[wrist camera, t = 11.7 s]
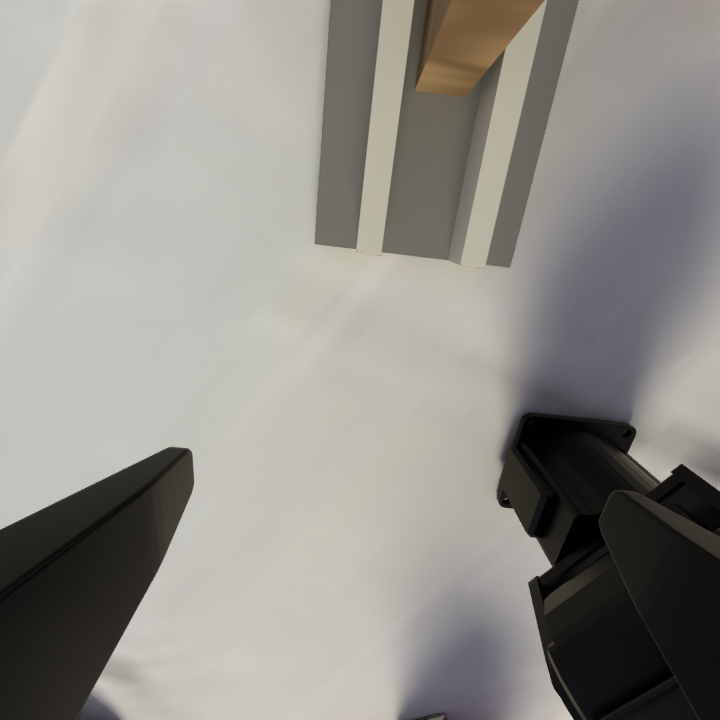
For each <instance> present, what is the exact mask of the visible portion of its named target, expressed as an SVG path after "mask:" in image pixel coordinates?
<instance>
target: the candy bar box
mask: <svg viewBox="0 0 720 720" xmlns="http://www.w3.org/2000/svg"><path fill="white" fill-rule="evenodd" d="M418 720H447V718H446V717H445V715H444V714H439V715H433V716H429V717H426V718H422V719H418Z"/></svg>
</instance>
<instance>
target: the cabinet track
mask: <svg viewBox="0 0 720 720" xmlns="http://www.w3.org/2000/svg"><path fill="white" fill-rule="evenodd" d="M427 1H428V0H331V8H330V23H329V38H328V53H327V68H326V83H325V98H324V113H323V128H322V143H321V158H320V172H319V187H318V202H317V217H316V232H315V244H319V245H327V246H335V247H344V248H352V249H356V253H362V254H370V255H378V256H381V252H385V253H394V254H402V255H410V256H418V257H427V258H435V259H443V260H449V261H451V262H454V263H456V264H458V265H462V266H470V267H478V268H485V265H493V266H502V267H510V265H511V261H512V257H513V253H514V250H515V246H516V242H517V238H518V234H519V230H520V226H521V222H522V218H523V215H524V211H525V207H526V203H527V199H528V195H529V191H530V187H531V183H532V180H533V176H534V172H535V168H536V164H537V160H538V156H539V152H540V148H541V145H542V141H543V137H544V133H545V129H546V125H547V121H548V117H549V113H550V110H551V106H552V102H553V98H554V94H555V90H556V86H557V82H558V78H559V75H560V71H561V67H562V63H563V59H564V55H565V51H566V47H567V43H568V40H569V36H570V32H571V28H572V24H573V20H574V16H575V12H576V8H577V5H578V1H579V0H545V1H544V2H543V3H542V4H541V6H540V7H539V8H538V9H537V10H536V12H535V13H534V14H533V15H532V17H531V18H530V19H529V20H528V21H527V23H526V24H525V25H524V26H523V27H522V29H521V30H520V31H519V32H518V33H517V35H516V36H515V37H514V38H513V40H512V41H511V42H510V43H509V44H508V46H507V47H506V48H505V49H504V50H503V52H502V53H501V54H500V55H499V57H498V58H497V59H496V60H495V61H494V63H493V64H492V65H491V66H490V67H489V69H488V70H487V71H486V72H485V74H484V75H483V76H482V77H481V78H480V80H479V81H478V82H477V83H476V84H475V86H474V87H473V88H472V89H471V90H470V92H469V93H468V94H467V95H466V97H458V96H451V95H444V94H436V93H429V92H422V91H415V86H416V79H417V72H418V65H419V58H420V51H421V44H422V37H423V30H424V22H425V15H426V8H427Z"/></svg>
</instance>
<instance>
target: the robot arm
mask: <svg viewBox="0 0 720 720" xmlns="http://www.w3.org/2000/svg"><path fill="white" fill-rule="evenodd" d="M531 420H534V421H533V423H531V424H528V423H529V421H531ZM626 430H627V431H626ZM624 431H626V432H625V433H623V432H624ZM635 435H636V429H635V428H634V427H633V426H631V425H630V424H629V423H625V422H616V421H606V420H597V419H587V418H578V417H568V416H559V415H549V414H540V413H527V414H525V415H524V416H523V417H522V418H521V421H520V424H519V427H518V430H517V433H516V437H515V440H514V443H513V446H511V448H510V449H509V452H508V455H507V458H506V461H505V465H504V468H503V471H502V474H501V477H500V488H499V491H498V494H497V500H498V502H499V504H500V506H502V507H504V508H514V510H515V512H516V514H517V516H518V518H519V520H520V522H521V523H522V525H523V527H524V529H525V531H526V532H527V534H528V535H529V536H530V537H535V538H537V540H538V542H539V544H540V546H541V547H542V549H543V551H544V553H545V555H546V556H547V558H548V560H549V562H550V564H551V565H552V568H550V569H549V570H548V571H547V572H545V573H544V574H543V575H541V576H540V577H539V576H536V577H535V578H534V579H532V580H531V581H530V582H528V584H529V589H530V593H531V598H532V602H533V607H534V611H535V615H536V620H537V624H538V629H539V633H540V638H541V642H542V647H543V651H544V655H545V660H546V663H547V667H548V670H549V673H550V678H551V682H552V685H553V687H554V689H555V690H556V692H557V693H558V695H559V696H560V697H561V699H562V701H563V703H564V704H565V706H566V708H567V709H568V711H569V713H570V714H571V716H572V717H573V719H574V720H720V491H718V490H717V489H716V488H714V487H713V486H712V485H710V484H709V483H707V482H706V481H705V480H703V479H702V478H700V477H699V476H698V475H696V474H695V473H694V472H692V471H691V470H689V469H688V468H687V467H685V466H684V465H683V464H680V465H679V466H678V467H677V468H675V469H674V470H673V471H671V473H673V474H672V475H671V476H669V477H668V478H667V479H666V480H664V481H663V482H662V483H661V482H660V481H659V480H657V479H656V478H655V477H654V476H653V475H652V474H651V473H649V472H648V471H647V470H646V469H645V468H644V467H642V466H641V465H640V464H639V463H638V462H637V461H635V460H634V459H633V458H632V457H631V456H630V455H629V454H627V453H628V451H629V448H630V446H631V444H632V442H633V440H634V437H635ZM193 486H194V472H193V456H192V452H191V450H189V449H188V448H179V447H169V448H166V449H164V450H162V451H160V452H158V453H156V454H154V455H152V456H150V457H148V458H146V459H144V460H142V461H140V462H138V463H136V464H134V465H132V466H130V467H127V468H125V469H123V470H121V471H119V472H117V473H115V474H113V475H111V476H109V477H107V478H105V479H103V480H101V481H99V482H97V483H95V484H93V485H91V486H89V487H87V488H85V489H83V490H81V491H78V492H76V493H74V494H72V495H70V496H68V497H66V498H64V499H62V500H60V501H58V502H56V503H54V504H52V505H50V506H48V507H46V508H44V509H42V510H40V511H38V512H36V513H33V514H31V515H29V516H27V517H25V518H23V519H21V520H19V521H17V522H15V523H13V524H11V525H9V526H7V527H5V528H3V529H1V530H0V720H76V719H77V717H78V715H79V713H80V711H81V709H82V708H83V706H84V704H85V702H86V700H87V699H88V697H89V695H90V693H91V691H92V689H93V688H94V686H95V684H96V682H97V680H98V679H99V677H100V675H101V673H102V671H103V670H104V668H105V666H106V664H107V662H108V660H109V659H110V657H111V655H112V653H113V651H114V650H115V648H116V646H117V644H118V642H119V640H120V639H121V637H122V635H123V633H124V631H125V630H126V628H127V626H128V624H129V622H130V620H131V619H132V617H133V615H134V613H135V611H136V610H137V608H138V606H139V604H140V602H141V601H142V599H143V597H144V595H145V593H146V591H147V590H148V588H149V586H150V584H151V582H152V581H153V579H154V577H155V575H156V573H157V571H158V569H159V567H160V565H161V563H162V561H163V559H164V557H165V554H166V552H167V550H168V547H169V545H170V543H171V540H172V538H173V536H174V533H175V531H176V529H177V526H178V524H179V522H180V519H181V517H182V514H183V512H184V510H185V507H186V505H187V503H188V500H189V498H190V496H191V493H192V490H193ZM506 498H508V499H506ZM504 499H506V500H504Z"/></svg>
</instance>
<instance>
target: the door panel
mask: <svg viewBox="0 0 720 720" xmlns="http://www.w3.org/2000/svg"><path fill="white" fill-rule="evenodd" d="M544 1H545V0H428V1H427V8H426V15H425V22H424V30H423V37H422V44H421V51H420V58H419V65H418V72H417V79H416V86H415V91H422V92H429V93H436V94H444V95H451V96H458V97H466V95H467V94H468V93H469V92H470V90H471V89H472V88H473V87H474V86H475V84H476V83H477V82H478V81H479V80H480V78H481V77H482V76H483V75H484V74H485V72H486V71H487V70H488V69H489V67H490V66H491V65H492V64H493V63H494V61H495V60H496V59H497V58H498V57H499V55H500V54H501V53H502V52H503V50H504V49H505V48H506V47H507V46H508V44H509V43H510V42H511V41H512V40H513V38H514V37H515V36H516V35H517V33H518V32H519V31H520V30H521V29H522V27H523V26H524V25H525V24H526V23H527V21H528V20H529V19H530V18H531V17H532V15H533V14H534V13H535V12H536V10H537V9H538V8H539V7H540V6H541V4H542V3H543V2H544Z"/></svg>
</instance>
